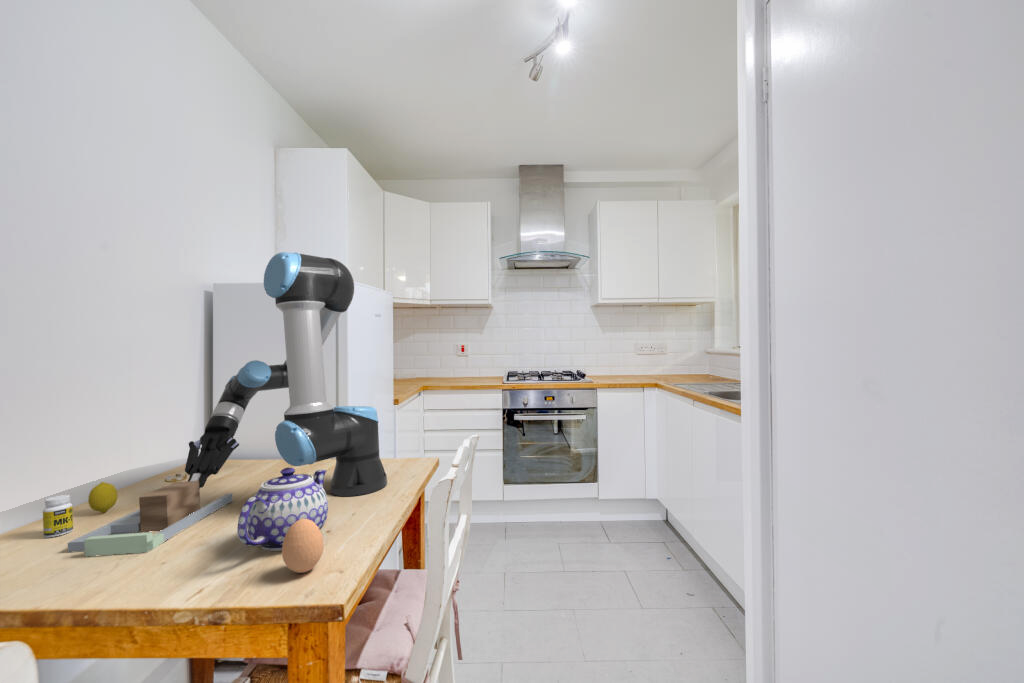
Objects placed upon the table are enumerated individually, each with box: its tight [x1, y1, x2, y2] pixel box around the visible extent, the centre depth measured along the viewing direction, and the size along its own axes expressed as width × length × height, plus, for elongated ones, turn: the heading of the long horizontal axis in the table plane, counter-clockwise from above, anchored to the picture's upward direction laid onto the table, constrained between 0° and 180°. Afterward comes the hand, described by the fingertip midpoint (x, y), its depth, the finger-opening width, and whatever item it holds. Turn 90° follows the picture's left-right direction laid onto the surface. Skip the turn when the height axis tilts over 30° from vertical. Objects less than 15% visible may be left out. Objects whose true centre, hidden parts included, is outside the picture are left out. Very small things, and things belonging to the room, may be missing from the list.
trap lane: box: [67, 493, 234, 557], centre depth 103 cm, size 30×18×4 cm, turn 3°
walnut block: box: [138, 480, 201, 533], centre depth 105 cm, size 11×6×8 cm, turn 3°
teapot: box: [237, 467, 329, 552], centre depth 91 cm, size 25×15×15 cm, turn 166°
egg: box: [281, 519, 325, 574], centre depth 77 cm, size 7×7×9 cm
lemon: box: [88, 481, 118, 514], centre depth 113 cm, size 6×6×8 cm
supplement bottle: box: [42, 494, 74, 539], centre depth 101 cm, size 5×5×8 cm
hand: (188, 499), depth 111 cm, fingers closed
